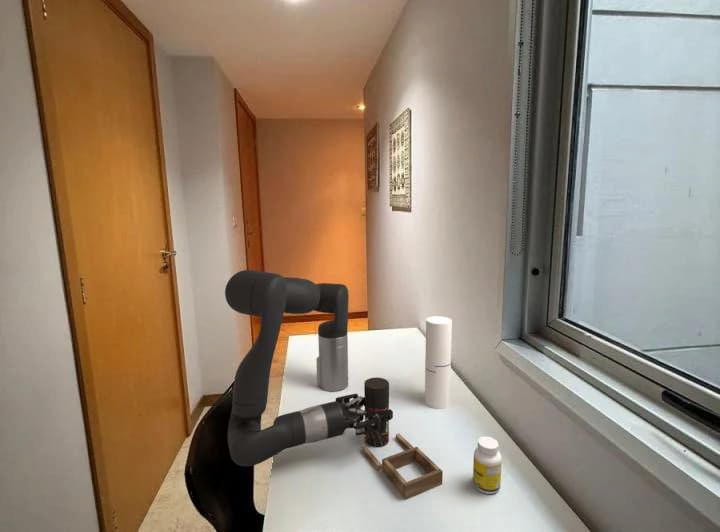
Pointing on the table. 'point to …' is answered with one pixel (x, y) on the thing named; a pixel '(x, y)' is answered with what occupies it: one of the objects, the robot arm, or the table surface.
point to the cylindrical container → (438, 362)
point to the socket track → (403, 459)
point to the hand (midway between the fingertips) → (384, 406)
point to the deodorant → (377, 409)
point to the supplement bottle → (487, 466)
